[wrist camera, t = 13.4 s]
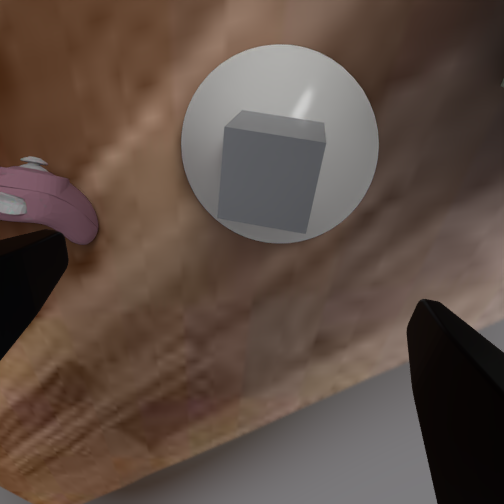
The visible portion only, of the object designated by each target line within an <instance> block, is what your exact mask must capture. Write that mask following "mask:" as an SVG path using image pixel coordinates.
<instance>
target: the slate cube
mask: <svg viewBox="0 0 504 504" xmlns="http://www.w3.org/2000/svg"><path fill="white" fill-rule="evenodd" d="M325 147H326V135H325V126H324V123H323V122H317V121H310V120H304V119H297V118H291V117H284V116H278V115H272V114H265V113H259V112H252V111H246V110H241V111H240V112H239V113H238V114H237V115H236V116H235V117H234V118H233V119H232V120H231V121H230V122H229V123H228V124H227V125H226V126H224V138H223V151H222V164H221V177H220V190H219V202H218V215H217V218H218V219H224V220H229V221H235V222H241V223H246V224H252V225H258V226H263V227H269V228H274V229H280V230H286V231H291V232H297V233H303V234H306V231H307V227H308V222H309V218H310V213H311V209H312V205H313V200H314V196H315V191H316V187H317V182H318V178H319V173H320V169H321V165H322V160H323V156H324V151H325Z"/></svg>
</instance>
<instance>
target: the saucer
mask: <svg viewBox="0 0 504 504" xmlns="http://www.w3.org/2000/svg"><path fill="white" fill-rule="evenodd" d="M241 110H246V111H252V112H259V113H265V114H272V115H278V116H284V117H291V118H297V119H304V120H310V121H317V122H323V123H324V126H325V135H326V147H325V151H324V156H323V160H322V165H321V169H320V173H319V178H318V182H317V187H316V191H315V196H314V200H313V205H312V209H311V213H310V218H309V222H308V227H307V231H306V234H303V233H297V232H291V231H286V230H280V229H274V228H269V227H263V226H258V225H252V224H246V223H241V222H235V221H229V220H224V219H218V218H217V215H218V202H219V190H220V177H221V164H222V151H223V138H224V126H226V125H227V124H228V123H229V122H230V121H231V120H232V119H233V118H234V117H235V116H236V115H237V114H238V113H239V112H240V111H241ZM378 150H379V138H378V128H377V124H376V119H375V115H374V112H373V110H372V107H371V104H370V102H369V100H368V98H367V96H366V95H365V93H364V91H363V89H362V88H361V87H360V85H359V84H358V83H357V81H356V80H355V79H354V78H353V77H352V76H351V75H350V74H349V73H348V72H347V71H346V70H345V69H344V68H343V67H342V66H341V65H339V64H338V63H337V62H335V61H334V60H333V59H331V58H329V57H327V56H326V55H324V54H322V53H320V52H318V51H315V50H312V49H309V48H306V47H301V46H296V45H285V44H275V45H267V46H260V47H256V48H252V49H249V50H246V51H243V52H241V53H239V54H237V55H235V56H232V57H231V58H229V59H228V60H226V61H225V62H223V63H222V64H220V65H219V66H218V67H217V68H216V69H214V70H213V71H212V72H211V73H210V74H209V75H208V76H207V77H206V79H205V80H204V81H203V82H202V83H201V85H200V86H199V88H198V89H197V91H196V92H195V94H194V95H193V98H192V100H191V102H190V104H189V106H188V109H187V112H186V115H185V118H184V122H183V128H182V137H181V151H182V160H183V165H184V170H185V173H186V176H187V179H188V181H189V184H190V186H191V188H192V190H193V192H194V194H195V195H196V197H197V198H198V200H199V202H200V203H201V204H202V205H203V207H204V208H205V209H206V210H207V211H208V212H209V213H210V214H211V215H212V216H213V217H214V218H215V219H216V220H217V221H218V222H220V223H221V224H222V225H224V226H225V227H227V228H228V229H230V230H232V231H233V232H235V233H237V234H239V235H242V236H244V237H247V238H250V239H253V240H256V241H261V242H266V243H293V242H300V241H304V240H308V239H311V238H314V237H316V236H319V235H321V234H323V233H325V232H327V231H329V230H331V229H332V228H334V227H335V226H337V225H338V224H339V223H341V222H342V221H343V220H344V219H345V218H347V217H348V216H349V215H350V214H351V213H352V212H353V210H354V209H355V208H356V207H357V206H358V205H359V203H360V202H361V200H362V199H363V197H364V196H365V194H366V192H367V190H368V188H369V186H370V184H371V182H372V179H373V176H374V173H375V170H376V165H377V160H378Z"/></svg>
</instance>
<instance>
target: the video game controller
mask: <svg viewBox="0 0 504 504" xmlns="http://www.w3.org/2000/svg"><path fill="white" fill-rule="evenodd" d="M21 161H25V162H28V164H24V165H21V166H12V167H8V168H4V167H0V220H5V221H13V222H30V223H38V224H44V225H47V226H49V227H51V228H53V229H55V230H56V231H59V232H61V233H63V235H64V236H65V237H66V238H68V239H69V240H70V241H72V242H74V243H77V244H81V245H86V244H88V243H90V242H91V241H93V239H94V238H95V236H96V234H97V232H98V219H97V215H96V213H95V210H94V208H93V206H92V205H91V203H90V201H89V200H88V199H87V198H86V196H85V195H84V194H83V193H81V192H80V191H79V190H78V189H77V188H76V187H75V186H73V185H72V184H71V183H70V182H69V179H67V178H63V177H59V176H56V175H54V174H52V173H50V172H48V171H47V170H46V169H44V168H43V167H41V166H40V165H48V164H47V163H46V162H45V161H43V160H42V159H40V158H36V157H30V156H28V157H25V158H21Z"/></svg>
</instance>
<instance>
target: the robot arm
mask: <svg viewBox="0 0 504 504" xmlns="http://www.w3.org/2000/svg"><path fill="white" fill-rule="evenodd" d="M68 261H69V260H68V253H67V247H66V241H65V237H64V235H63V233H61V232H59V231H54V230H48V229H44V230H40V231H36V232H32V233H28V234H23V235H19V236H15V237H11V238H7V239H3V240H0V360H1V359H2V358H3V357H4V355H5V354H6V353H7V352H8V350H9V349H10V348H11V347H12V345H13V344H14V343H15V342H16V340H17V339H18V338H19V337H20V335H21V334H22V333H23V332H24V330H25V329H26V328H27V327H28V325H29V324H30V323H31V322H32V320H33V319H34V318H35V316H36V315H37V314H38V312H39V311H40V309H41V308H42V306H43V305H44V303H45V302H46V300H47V298H48V297H49V295H50V294H51V292H52V291H53V289H54V288H55V286H56V284H57V283H58V281H59V280H60V278H61V277H62V275H63V273H64V272H65V270H66V268H67V266H68ZM407 342H408V353H409V363H410V373H411V382H412V390H413V395H414V400H415V405H416V409H417V414H418V418H419V423H420V427H421V432H422V436H423V441H424V445H425V450H426V454H427V459H428V463H429V468H430V472H431V477H432V481H433V486H434V490H435V495H436V499H437V503H438V504H504V352H502V351H501V350H500V349H498V348H497V347H496V346H495V345H493V344H492V343H491V342H490V341H488V340H487V339H486V338H484V337H483V336H482V335H481V334H479V333H478V332H477V331H476V330H474V329H473V328H472V327H471V326H469V325H468V324H467V323H466V322H464V321H463V320H462V319H461V318H459V317H458V316H457V315H456V314H454V313H453V312H452V311H450V310H449V309H448V308H447V307H445V306H444V305H443V304H442V303H440V302H438V301H433V300H427V299H422V300H420V301H419V302H418V304H417V306H416V308H415V310H414V312H413V314H412V317H411V319H410V321H409V323H408V326H407Z"/></svg>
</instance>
